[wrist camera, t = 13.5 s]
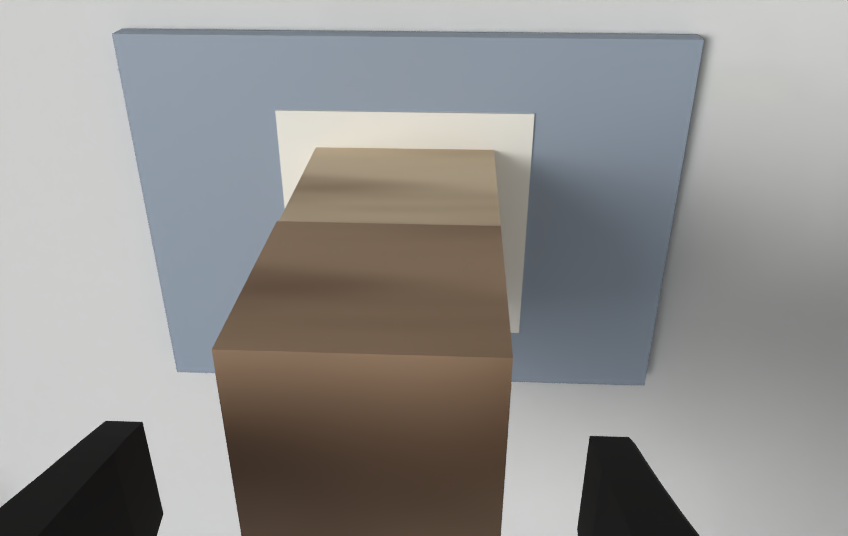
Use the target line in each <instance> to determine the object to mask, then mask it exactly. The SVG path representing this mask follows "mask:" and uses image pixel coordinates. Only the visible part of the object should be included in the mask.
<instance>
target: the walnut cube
mask: <svg viewBox="0 0 848 536" xmlns="http://www.w3.org/2000/svg"><path fill="white" fill-rule="evenodd" d="M212 355H213V361H214V368H215V374H216V380H217V386H218V392H219V399H220V405H221V411H222V417H223V424H224V430H225V436H226V442H227V448H228V455H229V461H230V467H231V473H232V479H233V486H234V492H235V498H236V504H237V510H238V517H239V523H240V529H241V535H242V536H501V523H502V508H503V494H504V480H505V466H506V451H507V437H508V423H509V408H510V394H511V380H512V365H513V353H512V342H511V331H510V320H509V310H508V299H507V288H506V277H505V266H504V256H503V245H502V234H501V226H475V225H429V224H383V223H337V222H291V221H277V222H276V224H275V226H274V228H273V230H272V231H271V233H270V235H269V237H268V239H267V241H266V243H265V245H264V247H263V249H262V251H261V253H260V255H259V257H258V259H257V261H256V263H255V265H254V267H253V269H252V271H251V273H250V275H249V277H248V279H247V281H246V283H245V285H244V287H243V289H242V291H241V293H240V294H239V296H238V298H237V300H236V302H235V304H234V306H233V308H232V310H231V312H230V314H229V316H228V318H227V320H226V322H225V324H224V326H223V328H222V330H221V332H220V334H219V336H218V338H217V340H216V342H215V344H214V346H213V348H212Z"/></svg>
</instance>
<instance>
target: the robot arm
mask: <svg viewBox="0 0 848 536" xmlns="http://www.w3.org/2000/svg"><path fill="white" fill-rule="evenodd" d="M162 516H163V510H162V506H161V502H160V497H159V493H158V488H157V484H156V479H155V475H154V471H153V466H152V462H151V457H150V453H149V449H148V444H147V440H146V435H145V431H144V427H143V422H124V421H105V422H104V423H103V424H101V425H100V426H99V427H97V428H96V429H95V430H94V431H92V432H91V433H90V434H89V435H88V436H86V437H85V438H84V439H83V440H81V441H80V442H79V443H78V444H77V445H75V446H74V447H73V448H72V449H71V450H70V451H68V452H67V453H66V454H65V455H64V456H62V457H61V458H60V459H59V460H58V461H56V462H55V463H54V464H53V465H52V466H50V467H49V468H48V469H47V470H46V471H44V472H43V473H42V474H41V475H40V476H38V477H37V478H36V479H35V480H34V481H32V482H31V483H30V484H29V485H27V486H26V487H25V488H24V489H23V490H21V491H20V492H19V493H18V494H16V495H15V496H14V497H13V498H11V499H10V500H9V501H8V502H7V503H5V504H4V505H3V506H2V507H0V536H157V533H158V530H159V526H160V523H161V520H162ZM577 530H578V536H699V534H698V533H697V532H696V530H695V529H694V528H693V527H692V525H691V524H690V523H689V521H688V520H687V519H686V517H685V516H684V515H683V513H682V512H681V511H680V509H679V508H678V507H677V505H676V504H675V502H674V501H673V500H672V498H671V497H670V495H669V494H668V493H667V491H666V490H665V488H664V487H663V485H662V484H661V483H660V481H659V480H658V478H657V477H656V475H655V474H654V472H653V471H652V469H651V468H650V466H649V465H648V463H647V462H646V460H645V459H644V457H643V456H642V454H641V452H640V451H639V449H638V448H637V446H636V445H635V443H634V442H633V441H632V440H631V439H630V438H629V437H605V436H590V438H589V446H588V453H587V461H586V468H585V476H584V483H583V490H582V498H581V505H580V513H579V520H578V528H577Z"/></svg>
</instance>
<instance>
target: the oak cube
mask: <svg viewBox="0 0 848 536" xmlns="http://www.w3.org/2000/svg"><path fill="white" fill-rule="evenodd" d="M279 221H291V222H337V223H383V224H429V225H475V226H501V220H500V210H499V199H498V188H497V178H496V167H495V156H494V150H468V149H398V148H329V147H316V148H315V150H314V152H313V154H312V156H311V158H310V160H309V162H308V164H307V166H306V168H305V170H304V172H303V174H302V176H301V178H300V180H299V182H298V184H297V186H296V188H295V190H294V192H293V194H292V196H291V198H290V200H289V202H288V204H287V206H286V208H285V210H284V212H283V214H282V216H281V218H280V220H279Z"/></svg>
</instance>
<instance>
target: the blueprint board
mask: <svg viewBox="0 0 848 536" xmlns="http://www.w3.org/2000/svg"><path fill="white" fill-rule="evenodd" d="M112 36H113V41H114V46H115V52H116V57H117V62H118V67H119V72H120V78H121V83H122V88H123V93H124V98H125V104H126V109H127V114H128V119H129V124H130V130H131V135H132V140H133V145H134V150H135V156H136V161H137V166H138V171H139V176H140V182H141V187H142V192H143V197H144V202H145V207H146V213H147V218H148V223H149V228H150V233H151V239H152V244H153V249H154V254H155V259H156V265H157V270H158V275H159V280H160V285H161V291H162V296H163V301H164V306H165V311H166V317H167V322H168V327H169V332H170V337H171V343H172V348H173V353H174V358H175V363H176V369H177V372H196V373H215V368H214V361H213V355H212V348H213V346H214V344H215V342H216V340H217V338H218V336H219V334H220V332H221V330H222V328H223V326H224V324H225V322H226V320H227V318H228V316H229V314H230V312H231V310H232V308H233V306H234V304H235V302H236V300H237V298H238V296H239V294H240V293H241V291H242V289H243V287H244V285H245V283H246V281H247V279H248V277H249V275H250V273H251V271H252V269H253V267H254V265H255V263H256V261H257V259H258V257H259V255H260V253H261V251H262V249H263V247H264V245H265V243H266V241H267V239H268V237H269V235H270V233H271V231H272V230H273V228H274V226H275V224H276V222H277V221H279V220H280V218H281V216H282V214H283V212H284V210H285V208H286V206H287V204H288V202H289V200H290V198H291V196H292V194H293V192H294V190H295V188H296V186H297V184H298V182H299V180H300V178H301V176H302V174H303V172H304V170H305V168H306V166H307V164H308V162H309V160H310V158H311V156H312V154H313V152H314V150H315V148H316V147H329V148H398V149H468V150H494V156H495V167H496V178H497V188H498V199H499V210H500V220H501V234H502V245H503V256H504V266H505V277H506V288H507V299H508V310H509V320H510V331H511V342H512V353H513V365H512V380H511V382H542V383H577V384H611V385H644V384H645V379H646V373H647V367H648V361H649V356H650V350H651V344H652V338H653V332H654V327H655V321H656V315H657V309H658V303H659V298H660V292H661V286H662V280H663V274H664V269H665V263H666V257H667V251H668V246H669V240H670V234H671V228H672V222H673V217H674V211H675V205H676V199H677V193H678V188H679V182H680V176H681V170H682V164H683V159H684V153H685V147H686V141H687V135H688V130H689V124H690V118H691V112H692V107H693V101H694V95H695V89H696V83H697V78H698V72H699V66H700V60H701V54H702V49H703V43H704V39H702V38H701V37H700V36H699V35H697V34H612V33H508V32H404V31H301V30H197V29H121V30H119V31H117V32H115V33H113V34H112Z"/></svg>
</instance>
